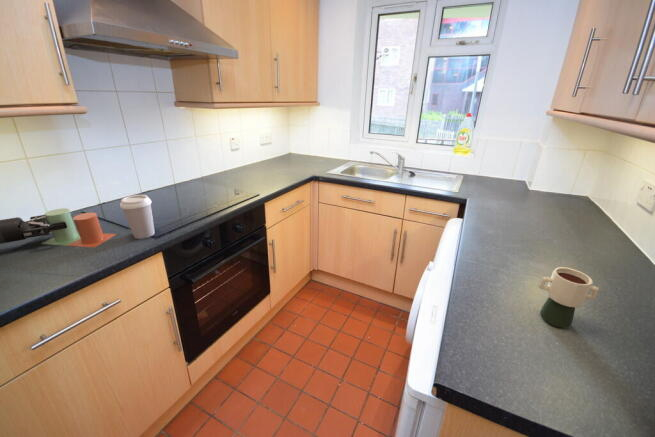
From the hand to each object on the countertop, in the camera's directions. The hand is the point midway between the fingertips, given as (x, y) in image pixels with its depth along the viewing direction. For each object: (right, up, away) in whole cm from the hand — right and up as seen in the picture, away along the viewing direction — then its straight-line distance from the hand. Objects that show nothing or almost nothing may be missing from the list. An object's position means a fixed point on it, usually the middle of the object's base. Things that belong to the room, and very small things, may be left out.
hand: (67, 220), depth 103 cm
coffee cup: (+24, -6, +5) cm, 25 cm away
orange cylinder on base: (+8, -7, +1) cm, 11 cm away
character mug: (+146, -24, -31) cm, 152 cm away
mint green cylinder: (-2, -6, +2) cm, 7 cm away
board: (+3, -7, +2) cm, 8 cm away
